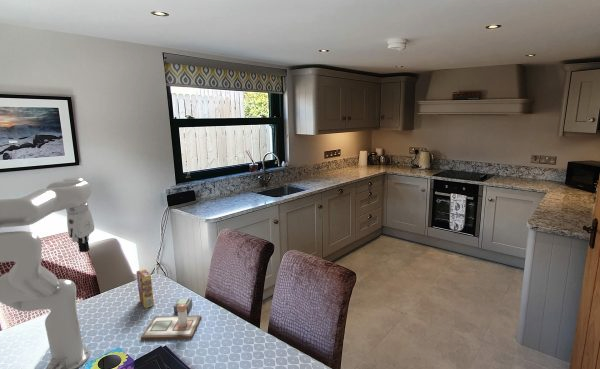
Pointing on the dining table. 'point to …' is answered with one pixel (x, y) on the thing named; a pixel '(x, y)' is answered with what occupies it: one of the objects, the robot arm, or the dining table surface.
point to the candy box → (145, 288)
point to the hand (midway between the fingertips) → (84, 251)
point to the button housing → (186, 306)
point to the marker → (182, 315)
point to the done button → (183, 301)
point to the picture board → (170, 328)
